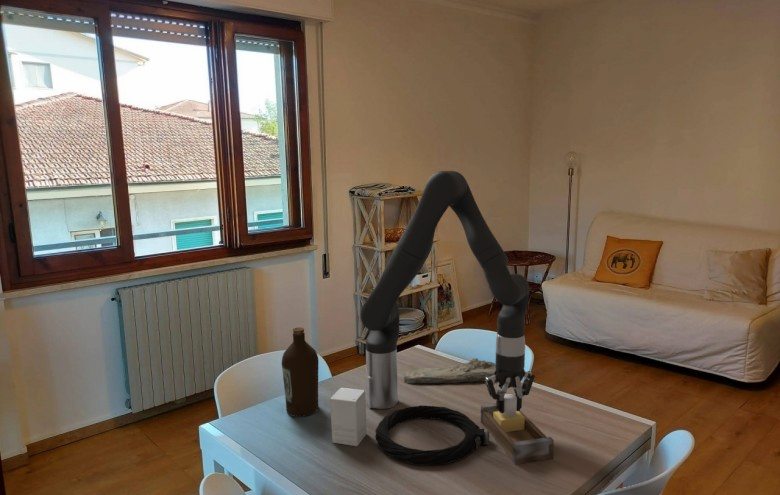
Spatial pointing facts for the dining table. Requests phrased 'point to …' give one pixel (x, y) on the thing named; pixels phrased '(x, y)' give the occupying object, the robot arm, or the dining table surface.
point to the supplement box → (348, 416)
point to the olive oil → (300, 376)
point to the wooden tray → (518, 438)
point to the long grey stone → (452, 373)
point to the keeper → (510, 415)
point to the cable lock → (430, 457)
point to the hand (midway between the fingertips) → (508, 410)
